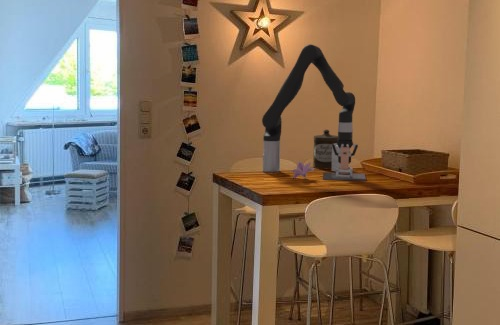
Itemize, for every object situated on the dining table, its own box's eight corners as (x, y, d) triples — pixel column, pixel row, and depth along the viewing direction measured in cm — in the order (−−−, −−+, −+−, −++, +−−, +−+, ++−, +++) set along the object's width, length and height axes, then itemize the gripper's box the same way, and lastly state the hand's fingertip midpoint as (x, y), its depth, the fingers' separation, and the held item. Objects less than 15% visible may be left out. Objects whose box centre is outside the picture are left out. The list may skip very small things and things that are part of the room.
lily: (317, 180, 322) (312, 163, 325) (315, 175, 311) (310, 158, 314) (295, 187, 324) (291, 170, 327) (292, 182, 313) (287, 164, 316)
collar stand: (322, 179, 319) (323, 170, 318) (323, 174, 335) (323, 165, 334) (366, 180, 316) (366, 171, 316) (364, 175, 332) (364, 166, 331)
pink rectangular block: (340, 172, 328) (341, 146, 326) (348, 172, 328) (348, 146, 326) (340, 174, 322) (341, 147, 320) (348, 174, 322) (348, 147, 320)
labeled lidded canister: (312, 168, 354) (313, 130, 351) (314, 164, 369) (314, 128, 365) (338, 169, 352) (339, 131, 349) (339, 165, 366) (339, 128, 363)
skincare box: (341, 169, 351) (341, 143, 349) (349, 171, 347) (349, 144, 345) (330, 171, 346) (331, 144, 344) (338, 172, 342) (339, 145, 339)
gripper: (358, 130, 325) (357, 162, 327) (331, 130, 327) (330, 162, 329) (359, 131, 317) (358, 164, 320) (331, 131, 319) (330, 164, 322)
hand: (344, 163), depth 325 cm, fingers closed on pink rectangular block, 4 cm apart
